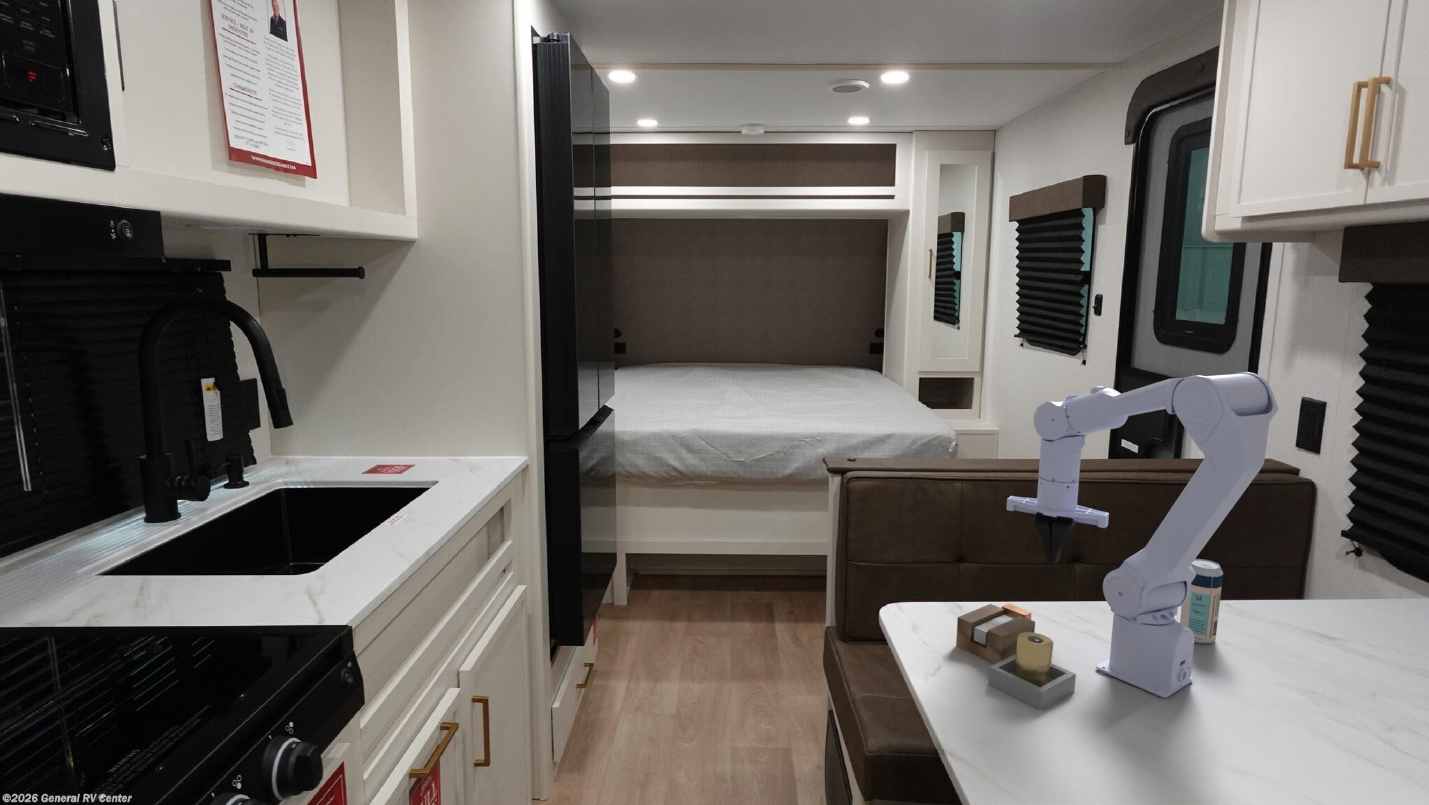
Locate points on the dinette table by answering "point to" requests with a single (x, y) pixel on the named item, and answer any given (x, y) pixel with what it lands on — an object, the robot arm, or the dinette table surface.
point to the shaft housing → (991, 633)
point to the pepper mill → (1033, 658)
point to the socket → (1028, 692)
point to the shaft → (999, 622)
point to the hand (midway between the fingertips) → (1052, 561)
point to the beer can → (1203, 601)
